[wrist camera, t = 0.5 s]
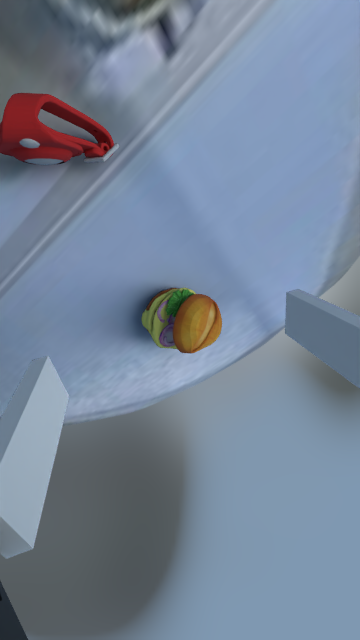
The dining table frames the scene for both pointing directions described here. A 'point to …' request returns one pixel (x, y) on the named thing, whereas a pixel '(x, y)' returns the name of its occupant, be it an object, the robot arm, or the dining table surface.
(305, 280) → the dining table surface
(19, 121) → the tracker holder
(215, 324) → the cheeseburger
